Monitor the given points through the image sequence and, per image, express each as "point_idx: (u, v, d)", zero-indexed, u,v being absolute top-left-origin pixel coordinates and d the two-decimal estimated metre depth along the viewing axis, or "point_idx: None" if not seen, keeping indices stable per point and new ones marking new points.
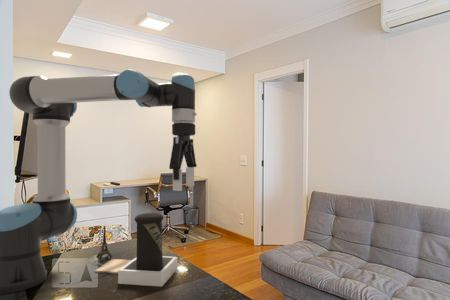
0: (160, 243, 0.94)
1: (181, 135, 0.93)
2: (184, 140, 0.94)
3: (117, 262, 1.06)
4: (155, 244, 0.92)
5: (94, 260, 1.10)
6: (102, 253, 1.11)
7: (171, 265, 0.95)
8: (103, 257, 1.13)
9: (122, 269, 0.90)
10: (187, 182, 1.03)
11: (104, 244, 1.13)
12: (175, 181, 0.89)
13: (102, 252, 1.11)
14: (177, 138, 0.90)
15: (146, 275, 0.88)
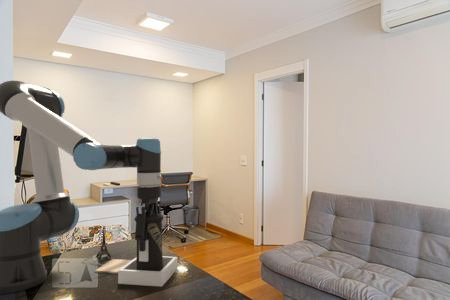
0: (160, 243, 0.94)
1: (145, 200, 0.92)
2: (148, 204, 0.93)
3: (117, 262, 1.06)
4: (155, 244, 0.92)
5: (93, 260, 1.10)
6: (101, 253, 1.11)
7: (171, 265, 0.95)
8: (102, 257, 1.13)
9: (122, 269, 0.90)
10: None
11: (103, 244, 1.13)
12: (141, 252, 0.91)
13: (101, 252, 1.11)
14: (140, 209, 0.89)
15: (146, 275, 0.88)
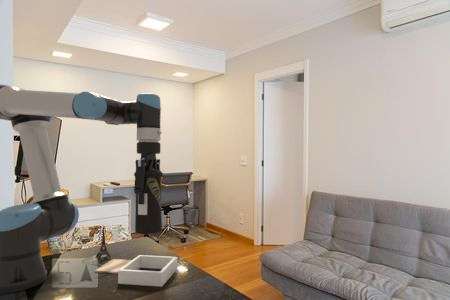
0: (159, 198, 0.95)
1: (144, 154, 0.92)
2: (148, 159, 0.93)
3: (117, 262, 1.06)
4: (154, 198, 0.93)
5: (93, 260, 1.10)
6: (101, 253, 1.11)
7: (171, 265, 0.95)
8: (102, 257, 1.13)
9: (122, 269, 0.90)
10: None
11: (103, 244, 1.13)
12: (140, 205, 0.91)
13: (101, 252, 1.11)
14: (139, 162, 0.89)
15: (146, 275, 0.88)
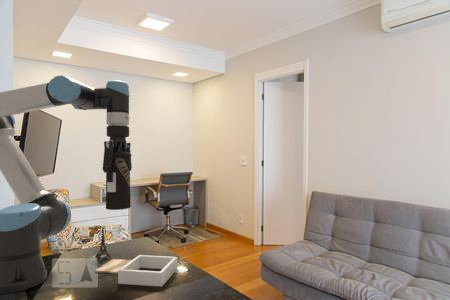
0: (128, 177, 1.02)
1: (113, 137, 1.00)
2: (116, 141, 1.01)
3: (117, 262, 1.06)
4: (122, 177, 1.01)
5: (93, 260, 1.10)
6: (101, 253, 1.11)
7: (171, 265, 0.95)
8: (102, 257, 1.13)
9: (122, 269, 0.90)
10: None
11: (103, 244, 1.12)
12: (109, 183, 0.99)
13: (101, 252, 1.11)
14: (107, 143, 0.97)
15: (146, 275, 0.88)
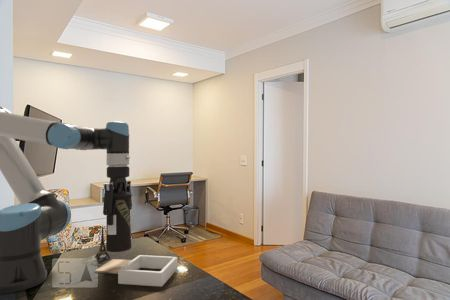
0: (128, 218, 1.02)
1: (113, 179, 1.00)
2: (116, 183, 1.01)
3: (117, 262, 1.06)
4: (122, 219, 1.00)
5: (92, 260, 1.10)
6: (100, 253, 1.11)
7: (171, 265, 0.95)
8: (101, 257, 1.13)
9: (122, 269, 0.90)
10: None
11: (102, 244, 1.12)
12: (110, 226, 0.99)
13: (100, 252, 1.11)
14: (107, 186, 0.97)
15: (146, 275, 0.88)
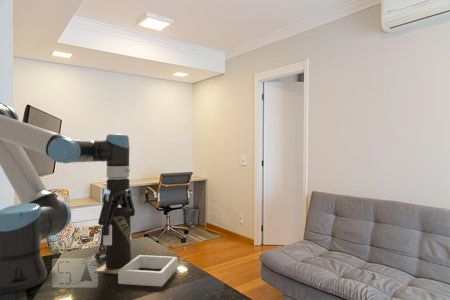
0: (128, 234, 1.02)
1: (113, 191, 1.00)
2: (116, 195, 1.01)
3: None
4: (122, 235, 1.00)
5: (92, 260, 1.10)
6: (100, 253, 1.11)
7: (171, 265, 0.95)
8: (101, 257, 1.13)
9: (122, 269, 0.90)
10: None
11: (102, 244, 1.12)
12: (105, 236, 0.96)
13: (100, 252, 1.11)
14: (107, 196, 0.97)
15: (146, 275, 0.88)
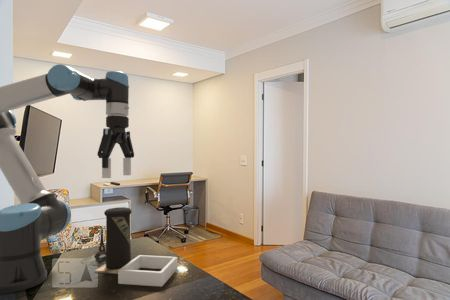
0: (128, 235, 1.02)
1: (112, 127, 1.00)
2: (116, 132, 1.01)
3: None
4: (122, 236, 1.00)
5: (91, 260, 1.10)
6: (99, 253, 1.11)
7: (171, 265, 0.95)
8: (101, 257, 1.13)
9: (122, 269, 0.90)
10: (124, 171, 1.10)
11: (101, 244, 1.12)
12: (104, 169, 0.97)
13: (99, 252, 1.11)
14: (106, 129, 0.97)
15: (146, 275, 0.88)
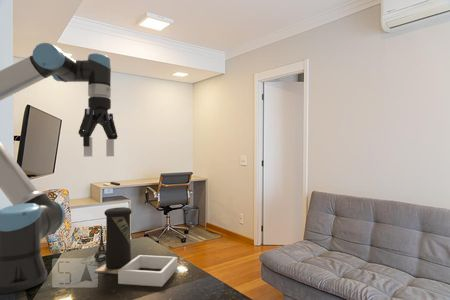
0: (128, 235, 1.02)
1: (94, 107, 1.03)
2: (97, 112, 1.04)
3: None
4: (122, 236, 1.00)
5: (91, 260, 1.10)
6: (99, 253, 1.11)
7: (171, 265, 0.95)
8: (100, 257, 1.13)
9: (122, 269, 0.90)
10: (107, 153, 1.13)
11: (101, 244, 1.12)
12: (86, 148, 1.00)
13: (99, 252, 1.11)
14: (88, 109, 1.00)
15: (146, 275, 0.88)
